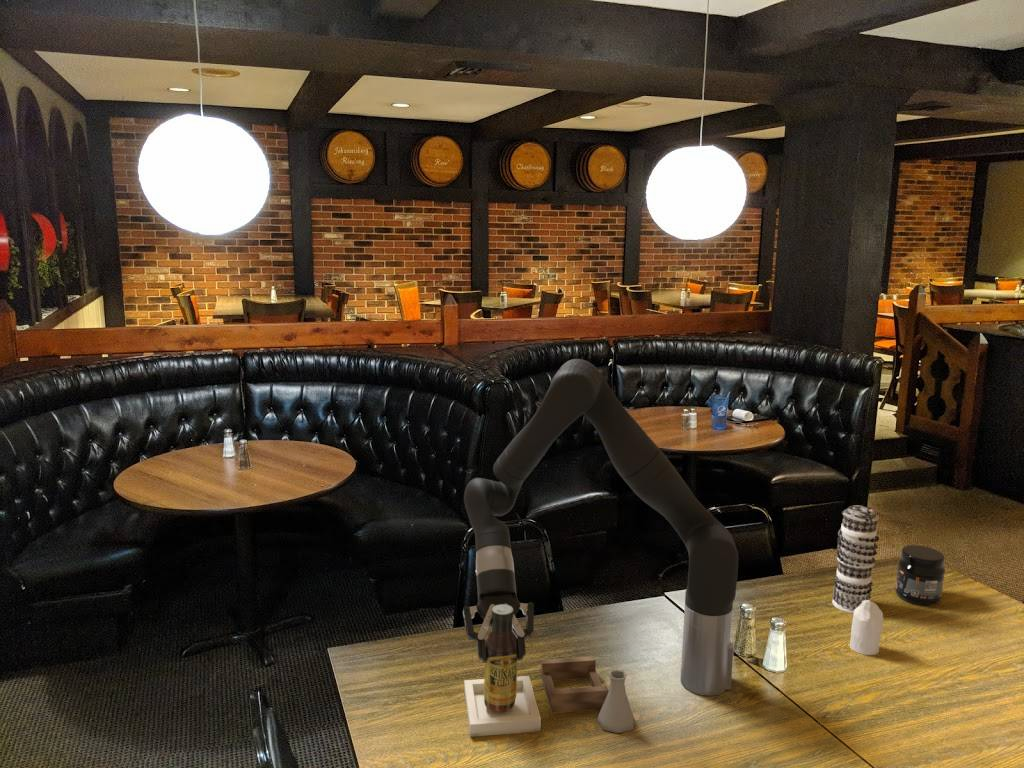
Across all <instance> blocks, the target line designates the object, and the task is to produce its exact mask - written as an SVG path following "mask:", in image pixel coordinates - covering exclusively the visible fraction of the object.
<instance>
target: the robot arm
mask: <svg viewBox="0 0 1024 768" xmlns="http://www.w3.org/2000/svg"><path fill="white" fill-rule="evenodd" d="M582 415H584V416H585V417H586V419H587V420H588V421H589V422H590V423H591V425H593V427H594V429H595V431H596V432H597V433H598V436H599V438H600V440H601V442H602V444H603V446H604V449H605V451H606V453H607V455H608V457H609V459H610V461H611V464H612V466H613V467H614V469H615V470H616V471H617V473H618V475H619V476H620V477H621V478H622V479H623V481H624V482H625V483H626V484H627V486H629V488H630V489H631V491H632V492H633V493H634V494H635V495H636V496H637V497H638V498H639V499H640V500H641V501H643V502H644V503H645V504H646V505H648V506H649V507H651V508H652V509H653V510H655V512H657V513H659V514H661V516H662V517H664V518H665V520H667V522H669V524H670V525H671V526H672V528H673V529H674V531H675V532H676V533H677V535H678V537H680V539H681V541H682V542H683V544H684V545H685V548H686V550H687V554H688V571H687V587H686V590H685V596H684V611H683V613H684V615H683V631H682V645H681V646H682V647H681V662H680V663H681V664H680V682H681V685H682V686H683V687H684V688H685V689H686V690H687V691H689V692H691V693H694V694H697V695H702V696H710V697H711V696H716V695H717V696H718V695H720V694H722V693H724V692H725V691H727V690H728V691H729V690H731V689H732V679H733V675H732V674H733V667H734V665H733V664H734V663H733V661H734V649H735V647H734V644H733V643H732V642H731V637H732V636H731V635H732V634H731V633H732V622H733V606H734V601H735V599H736V593H737V583H738V574H739V553H738V550H737V546H736V544H735V540H734V538H733V536H732V534H731V533H730V531H729V529H728V528H726V526H724V524H723V523H721V522H720V521H719V520H718V519H717V517H715V516H714V515H713V514H712V513H711V512H710V511H709V510H708V509H707V508H706V507H705V506H704V505H703V504H702V503H701V502H700V501H699V500H698V498H697V497H696V495H694V494H693V492H692V491H691V489H690V487H689V485H687V483H686V481H685V480H684V479H683V477H682V476H681V474H680V473H679V472H678V470H677V469H676V468H675V466H674V465H673V464H672V462H671V461H670V460H669V459H668V458H667V456H666V455H665V454H664V452H662V450H661V449H660V448H659V446H658V445H657V444H656V443H655V442H654V441H653V439H652V438H651V437H650V436H649V435H648V434H647V433H646V431H644V429H643V428H642V427H641V426H640V424H639V423H638V422H637V421H636V419H635V418H634V417H633V416H632V415H631V414H630V413H629V412H628V410H627V409H626V408H625V407H624V406H623V404H622V403H621V401H620V400H619V399H618V397H617V396H616V395H615V393H614V391H613V390H612V388H611V387H610V385H609V384H608V382H607V381H606V378H605V377H604V376H603V375H602V373H601V372H600V370H599V369H598V368H597V367H596V366H595V365H594V364H592V363H591V362H589V361H588V360H586V359H582V358H572V359H570V360H567V361H566V362H564V363H563V364H562V365H561V366H560V367H559V369H558V370H557V371H556V372H555V374H554V376H553V377H552V379H551V382H550V385H549V387H548V389H547V391H546V393H545V395H544V397H543V400H542V401H541V403H540V405H539V407H538V408H537V409H536V412H535V413H534V414H533V416H532V417H531V418H530V420H529V421H528V422H527V423H526V424H525V426H524V427H523V428H522V429H521V430H520V431H519V432H518V433H517V434H516V436H514V438H512V440H511V441H510V443H509V444H508V445H507V446H506V448H505V449H504V450H503V452H502V453H501V454H500V455H499V456H498V457H497V459H496V461H495V462H494V464H493V467H492V471H493V474H494V476H495V477H496V479H497V480H498V481H496V480H492V479H488V478H484V477H483V478H482V477H474V478H473V479H471V480H470V481H469V482H468V483H467V484H466V487H465V489H464V494H463V503H464V508H465V510H466V512H467V516H468V519H469V522H470V524H471V525H470V526H471V528H472V530H473V533H474V539H475V540H474V541H475V555H476V557H475V575H476V587H477V604H476V605H474V606H468V605H464V606H463V608H462V609H463V610H462V616H463V620H464V621H463V622H464V627H465V632H466V637H467V639H468V640H469V641H474V642H476V645H477V657H478V659H479V661H481V662H482V663H483V664H485V663H486V661H487V657H486V639H485V637H486V634H487V632H488V630H489V628H490V627H491V628H492V626H493V617H492V608H493V607H494V606H496V605H500V604H505V605H509V606H511V607H512V608H513V613H514V615H513V618H512V628H513V630H512V631H513V633H514V634H515V636H516V638H517V649H518V660H517V662H518V661H523V660H524V659H523V658H525V656H526V653H527V652H526V642H525V639H526V638H527V637H531V636H532V635H533V632H534V625H535V624H534V623H535V622H534V621H535V605H534V604H535V603H534V602H532V601H528V603H525V602H524V603H523V602H520V600H518V597H517V585H516V577H515V574H516V573H515V565H514V557H513V554H512V547H511V546H512V545H511V535H510V529H509V526H508V525H507V524H506V523H505V522H503V520H500V519H498V518H497V517H503V516H505V515H507V514H508V513H509V512H511V510H512V509H513V508H514V505H515V503H516V501H517V499H518V495H519V493H520V490H521V488H522V485H523V484H524V481H526V479H527V478H528V477H529V475H530V474H531V473H532V472H533V470H534V469H535V468H536V467H537V466H538V464H539V463H540V461H541V460H542V458H543V457H544V456H545V454H547V451H548V450H549V449H550V448H551V446H552V444H553V443H554V442H555V441H556V439H558V437H559V436H561V434H562V433H563V432H564V431H565V430H566V429H567V428H568V427H569V426H570V425H572V424H573V423H574V422H575V421H576V420H577V419H578V418H579V417H581V416H582ZM519 610H521V611H522V614H523V615H524V616H525V628H524V629H523V628H522V626H521V625H520V622H519V620H518V619H517V617H516V615H517V614H518V612H519ZM476 613H477V614H478V615H479V616H480V618H481V619H482V620H483V622H482V624H481V626H480V630H479V632H476V631H474V625H473V624H474V623H473V619H474V618H475V614H476Z"/></svg>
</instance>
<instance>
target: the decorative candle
mask: <svg viewBox="0 0 1024 768" xmlns="http://www.w3.org/2000/svg"><path fill="white" fill-rule="evenodd" d="M841 514H842V515H843V516H842V523H841V527H840V529H839V530H838V532H837V536H838V537H837V538H836V541H837V547H836V548H837V551H836V552H835V553H836V560H837V561H838V563H837V567H836V575H835V574H834V581H833V583H834V584H833V586H834V587H833V589H832V590H833V591H832V605H833V606H834V608H836V609H838V610H840V611H842V612H845V613H848V614H852V615H853V614H854V610H855V609H856V608H857V607H859V606H860V605H861V603H862V601H864V600H870V601H871V598H872V593H871V592H872V591H873V589H872V586H873V583H874V582H873V579H872V578H873V574H872V569H873V567H874V566H875V562H876V558H875V557H874V556H876V555H877V554H878V551H877V549H878V547H879V545H878V544H877V543H876V542H878V541H880V537H879V536H878V535H879V531H878V529H877V526H878V520H879V519H880V517H879V515H877V513H876V512H875V510H873V509H872V508H871V507H868V506H865V505H858V504H857V505H849V506H848V507H847V508H846V509H844V510H842V512H841Z"/></svg>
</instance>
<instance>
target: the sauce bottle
mask: <svg viewBox="0 0 1024 768" xmlns="http://www.w3.org/2000/svg"><path fill="white" fill-rule="evenodd" d="M513 615H514V613H513V608H512V607H511V606H509V605H505V604H500V605H496V606H494V607H493V608H492V617H493V626H492V627H491V632H489V634H488V638H487V639H486V640H485V643H486V657H487V661H486V663H484V673H483V674H484V675H483V676H484V677H483V679H484V703H485V706H486V707H487V708H488V709H490V710H492V711H496V712H504V711H507V710H509V709H511V708H513V706H514V704H515V699H516V688H517V677H518V649H517V637H516V636H515V634H514V632H513V631H512V630H513V628H512V618H513Z"/></svg>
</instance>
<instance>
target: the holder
mask: <svg viewBox="0 0 1024 768" xmlns="http://www.w3.org/2000/svg"><path fill="white" fill-rule="evenodd" d="M540 661H541V663H540V679H541V681H542V685H543V688H544V692H545V695H546V699H547V702H548V706H549V708H550V712H551V714H560V713H573V712H583V711H584V712H585V711H597V710H598V711H599V710H600V711H601V708H602V706H603V704H604V702H605V700H606V697H607V695H608V692H609V688H608V685H603V684H602V682H601V678H600V677H599V675H598V672H597V670H596V664H597V663H596V657H595V656H594V655H593V656H592V655H590V656H580V657H577V656H576V657H562V658H549V659H547V658H546V659H540ZM581 679H582V680H583V679H587V680H588V682H589V684H590V686H587V687H585V686H584V687H583V686H582V687H571V688H559V689H558V688H557V689H556V688H555V685H554V682H556V681H569V680H571V681H572V680H581Z"/></svg>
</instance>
